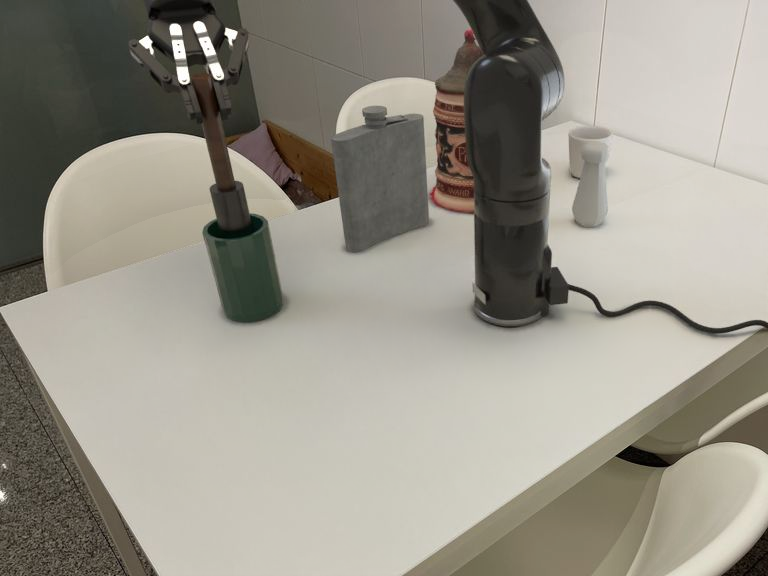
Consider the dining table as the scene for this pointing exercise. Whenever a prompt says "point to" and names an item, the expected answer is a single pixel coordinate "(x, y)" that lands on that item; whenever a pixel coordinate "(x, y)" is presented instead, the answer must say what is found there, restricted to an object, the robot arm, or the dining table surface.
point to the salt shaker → (592, 186)
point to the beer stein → (454, 133)
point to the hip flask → (381, 177)
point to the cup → (579, 139)
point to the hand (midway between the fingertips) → (212, 118)
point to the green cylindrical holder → (245, 270)
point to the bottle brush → (220, 161)
